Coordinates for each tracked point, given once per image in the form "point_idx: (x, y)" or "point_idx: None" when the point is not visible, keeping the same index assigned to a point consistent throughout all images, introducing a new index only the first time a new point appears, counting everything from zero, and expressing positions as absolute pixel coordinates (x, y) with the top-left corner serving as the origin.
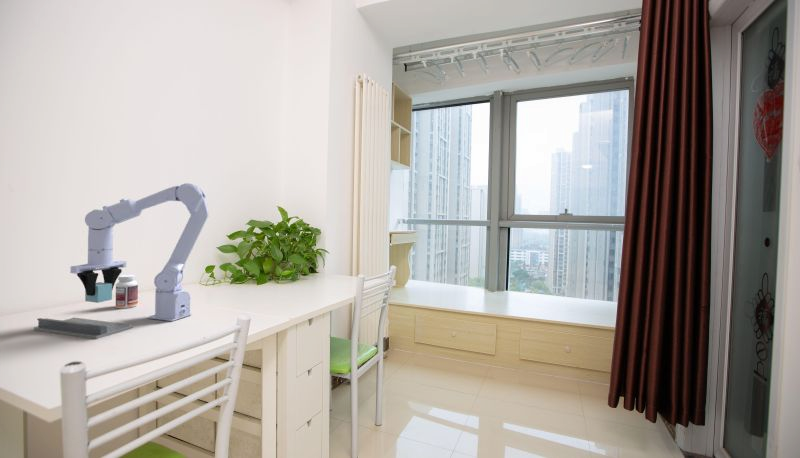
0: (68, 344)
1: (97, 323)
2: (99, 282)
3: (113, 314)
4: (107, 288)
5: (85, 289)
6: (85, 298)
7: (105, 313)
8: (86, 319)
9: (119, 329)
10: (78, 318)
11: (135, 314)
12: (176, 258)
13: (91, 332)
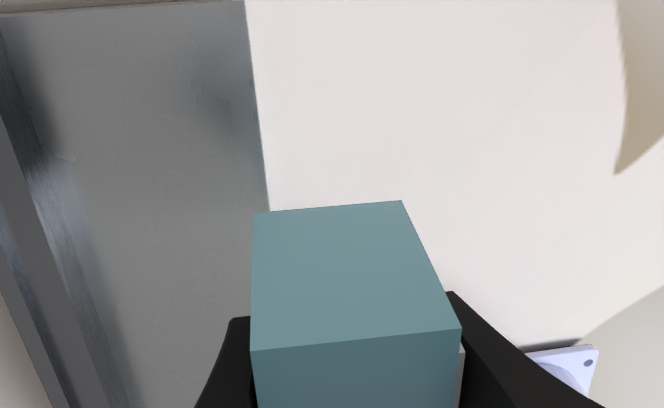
0: None
1: (227, 300)
2: (445, 346)
3: (476, 98)
4: None
5: (216, 363)
6: (252, 231)
7: (485, 7)
8: (252, 149)
9: None
10: (240, 65)
11: (513, 228)
12: None
13: None
